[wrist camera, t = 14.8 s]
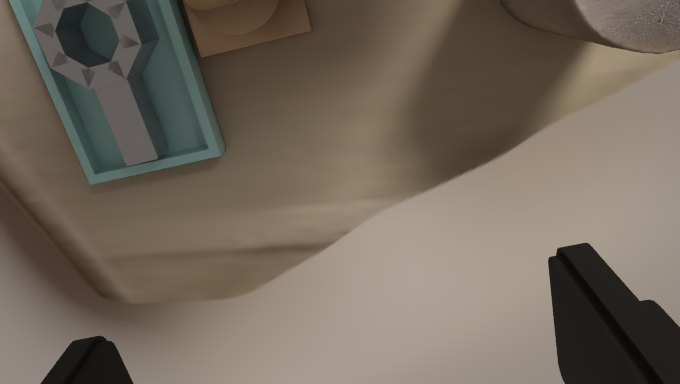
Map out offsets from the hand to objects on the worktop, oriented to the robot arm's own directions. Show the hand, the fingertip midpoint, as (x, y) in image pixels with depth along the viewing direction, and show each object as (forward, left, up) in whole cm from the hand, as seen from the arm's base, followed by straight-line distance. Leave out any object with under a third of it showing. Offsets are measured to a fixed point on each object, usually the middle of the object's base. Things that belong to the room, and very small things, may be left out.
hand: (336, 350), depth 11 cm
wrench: (-4, -15, -30) cm, 34 cm away
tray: (-6, -15, -30) cm, 34 cm away
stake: (-8, -6, -30) cm, 32 cm away
